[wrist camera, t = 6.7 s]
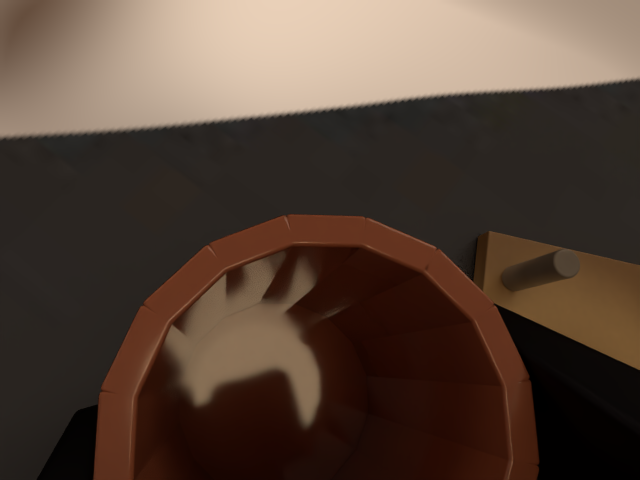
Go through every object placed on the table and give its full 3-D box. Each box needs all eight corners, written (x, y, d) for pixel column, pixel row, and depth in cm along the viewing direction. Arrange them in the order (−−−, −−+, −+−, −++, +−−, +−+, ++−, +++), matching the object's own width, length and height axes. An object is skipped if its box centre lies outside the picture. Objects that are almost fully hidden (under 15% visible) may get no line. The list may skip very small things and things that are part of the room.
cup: (274, 564, 15) (340, 815, 6) (114, 401, 15) (-16, 446, 7) (418, 391, 16) (614, 418, 8) (274, 248, 17) (325, 134, 8)
